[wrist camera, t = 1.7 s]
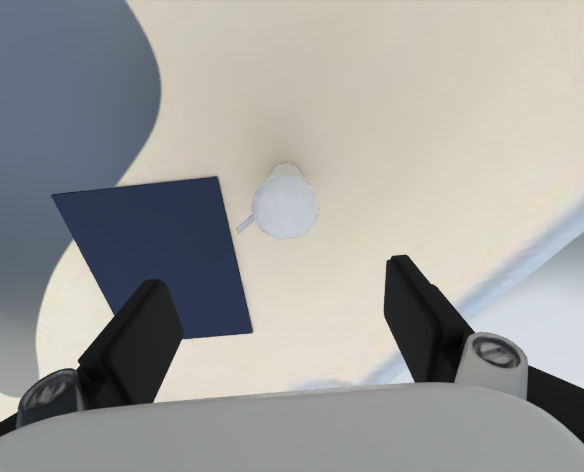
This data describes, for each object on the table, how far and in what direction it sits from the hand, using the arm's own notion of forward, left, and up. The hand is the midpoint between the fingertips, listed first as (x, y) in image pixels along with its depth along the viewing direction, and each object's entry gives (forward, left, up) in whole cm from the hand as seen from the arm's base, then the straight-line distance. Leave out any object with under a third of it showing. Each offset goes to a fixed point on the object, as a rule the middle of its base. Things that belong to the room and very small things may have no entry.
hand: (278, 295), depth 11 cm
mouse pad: (+8, -14, -16) cm, 23 cm away
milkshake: (-1, 0, -16) cm, 16 cm away
